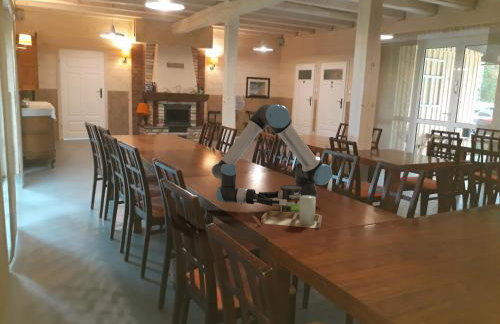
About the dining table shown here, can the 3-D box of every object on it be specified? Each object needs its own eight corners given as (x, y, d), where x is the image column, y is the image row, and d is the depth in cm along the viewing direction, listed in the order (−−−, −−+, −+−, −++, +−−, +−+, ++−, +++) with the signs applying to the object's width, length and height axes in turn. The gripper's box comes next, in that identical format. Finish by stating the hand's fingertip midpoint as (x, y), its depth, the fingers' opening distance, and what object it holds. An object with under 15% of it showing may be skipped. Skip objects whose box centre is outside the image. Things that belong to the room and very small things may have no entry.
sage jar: (311, 220, 182) (311, 195, 181) (317, 224, 175) (318, 198, 174) (296, 221, 180) (297, 195, 179) (302, 225, 173) (303, 198, 172)
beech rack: (260, 225, 177) (261, 217, 176) (266, 217, 190) (266, 210, 189) (319, 230, 171) (320, 222, 170) (321, 222, 183) (322, 214, 183)
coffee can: (304, 216, 194) (305, 188, 192) (286, 218, 189) (287, 189, 187) (293, 211, 203) (293, 184, 201) (275, 213, 198) (276, 185, 196)
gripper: (252, 198, 212) (291, 201, 207) (240, 209, 188) (284, 213, 183) (252, 184, 211) (292, 187, 206) (240, 194, 187) (284, 197, 182)
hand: (288, 199), depth 195 cm, fingers open, 13 cm apart
